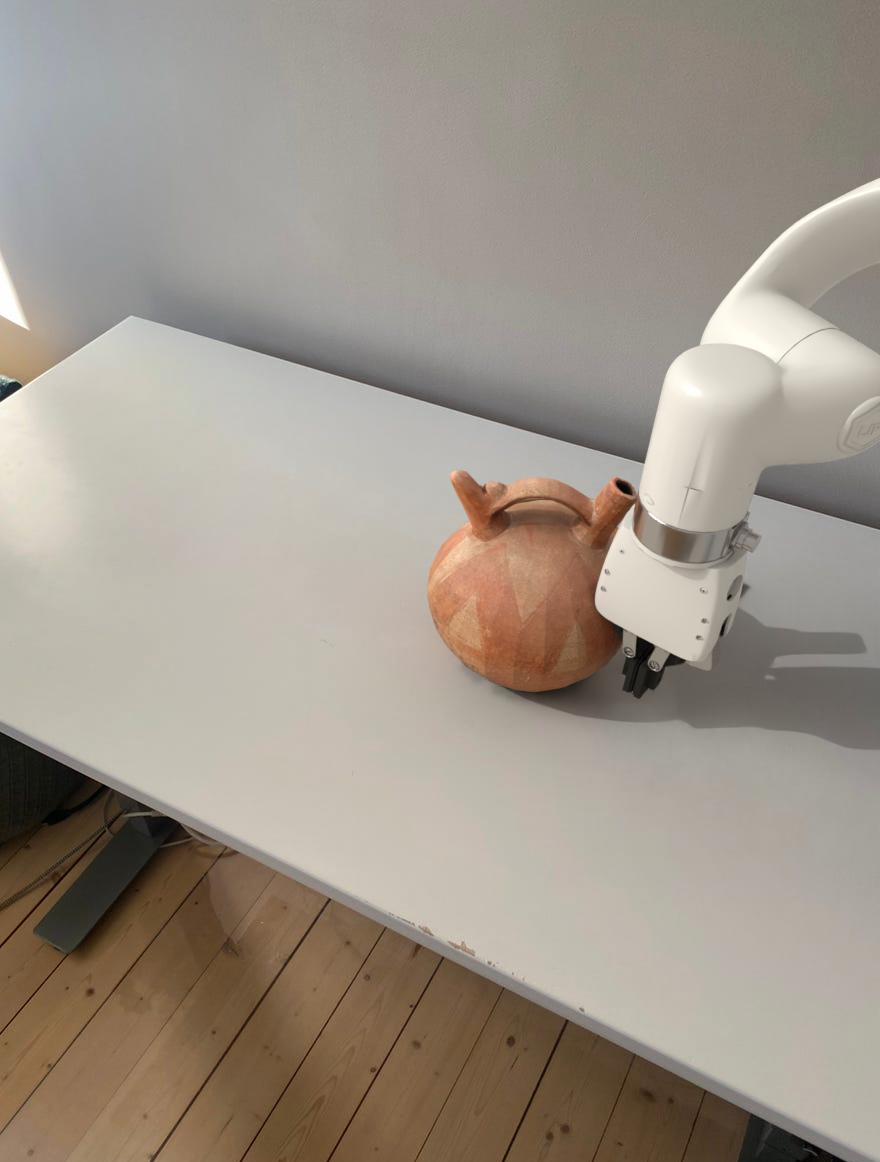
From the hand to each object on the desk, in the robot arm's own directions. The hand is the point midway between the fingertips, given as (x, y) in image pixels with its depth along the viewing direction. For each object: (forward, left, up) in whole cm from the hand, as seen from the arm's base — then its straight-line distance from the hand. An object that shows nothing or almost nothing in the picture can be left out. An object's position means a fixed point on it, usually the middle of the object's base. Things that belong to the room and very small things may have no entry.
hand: (639, 685), depth 79 cm
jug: (0, -12, -4) cm, 13 cm away
